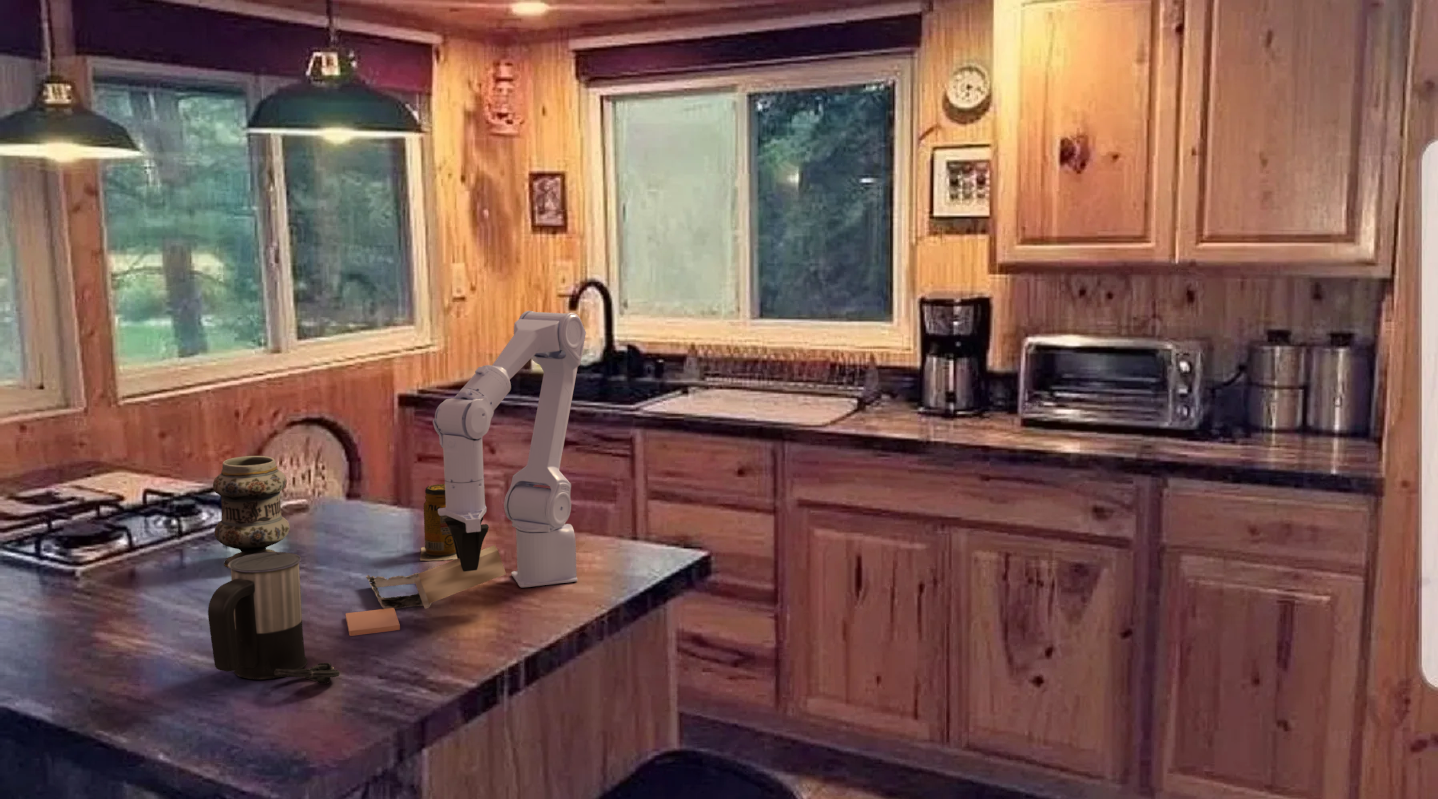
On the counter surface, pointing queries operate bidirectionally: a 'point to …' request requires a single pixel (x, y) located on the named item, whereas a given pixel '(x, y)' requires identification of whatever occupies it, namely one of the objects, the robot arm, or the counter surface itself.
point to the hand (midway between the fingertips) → (468, 566)
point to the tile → (372, 621)
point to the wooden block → (458, 576)
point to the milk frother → (262, 620)
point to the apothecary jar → (250, 505)
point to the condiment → (436, 527)
